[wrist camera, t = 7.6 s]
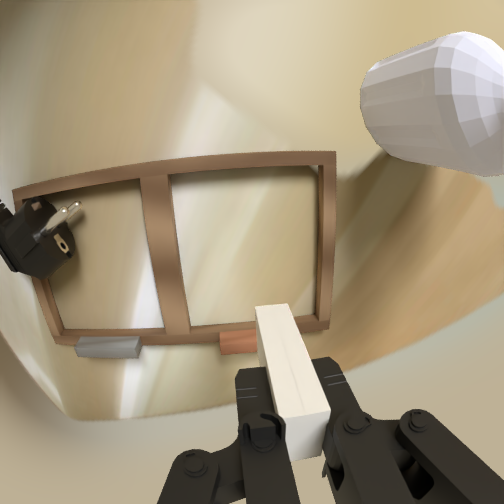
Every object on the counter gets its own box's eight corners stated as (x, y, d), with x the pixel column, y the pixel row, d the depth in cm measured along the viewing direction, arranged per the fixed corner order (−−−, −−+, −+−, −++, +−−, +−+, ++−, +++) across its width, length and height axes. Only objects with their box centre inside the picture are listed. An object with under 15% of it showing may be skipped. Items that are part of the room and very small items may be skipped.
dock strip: (19, 187, 19) (-1, 194, 17) (330, 150, 21) (345, 152, 19) (60, 337, 25) (48, 354, 22) (325, 321, 27) (335, 340, 24)
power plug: (-53, 177, 12) (20, 305, 17) (0, 105, 12) (83, 249, 17) (-16, 170, 18) (48, 275, 22) (36, 112, 18) (106, 227, 22)
